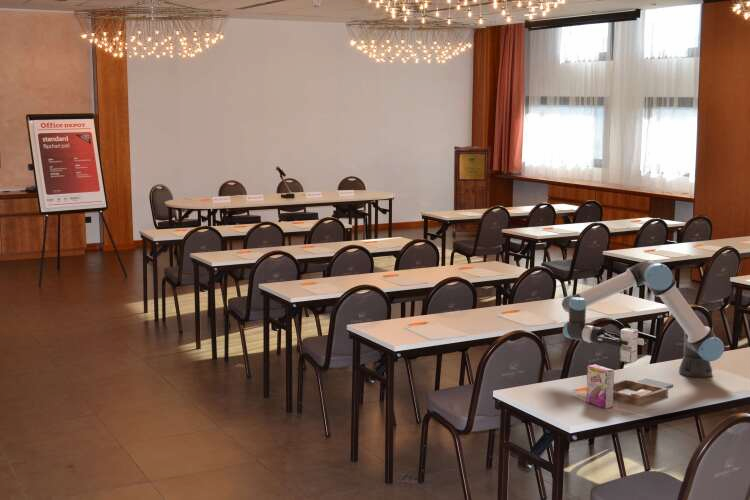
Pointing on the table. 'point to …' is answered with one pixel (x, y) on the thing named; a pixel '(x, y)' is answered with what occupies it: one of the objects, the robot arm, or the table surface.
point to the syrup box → (628, 352)
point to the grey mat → (656, 383)
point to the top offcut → (640, 393)
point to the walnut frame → (656, 391)
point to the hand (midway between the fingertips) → (639, 343)
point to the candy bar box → (600, 386)
